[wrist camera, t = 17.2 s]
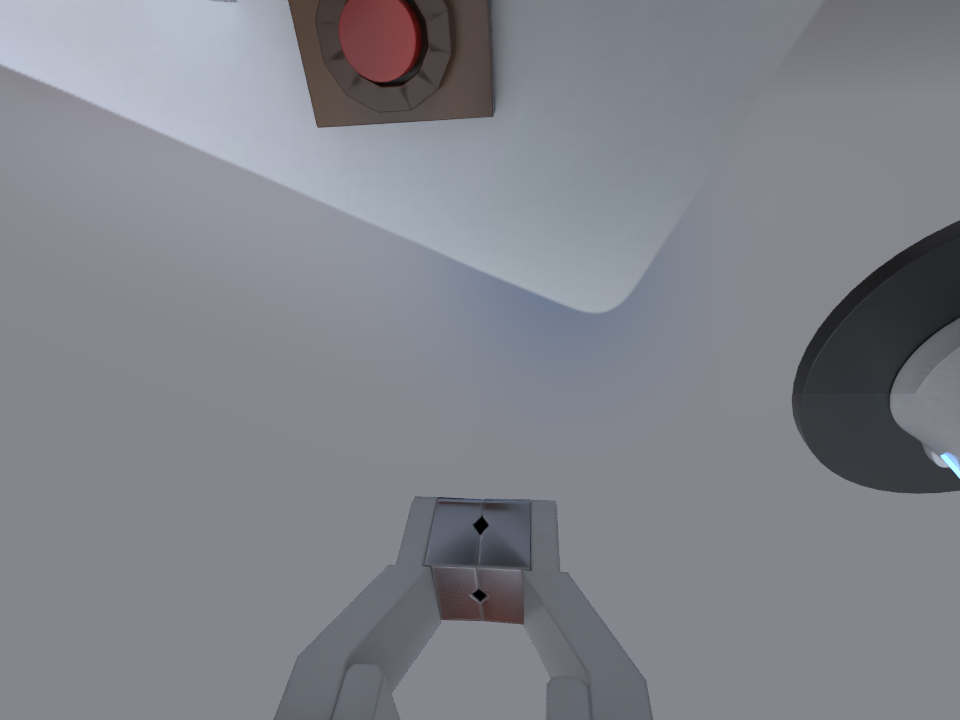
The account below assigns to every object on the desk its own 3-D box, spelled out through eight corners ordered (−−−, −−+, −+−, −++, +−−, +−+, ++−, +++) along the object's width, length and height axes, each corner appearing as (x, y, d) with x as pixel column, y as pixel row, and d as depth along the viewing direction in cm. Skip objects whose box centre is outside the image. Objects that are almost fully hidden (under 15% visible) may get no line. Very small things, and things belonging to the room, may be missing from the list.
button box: (487, -70, 24) (482, -85, 21) (495, 111, 29) (492, 122, 25) (292, -51, 25) (257, -62, 22) (329, 121, 29) (305, 133, 26)
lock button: (417, -13, 23) (410, -16, 21) (426, 76, 25) (421, 79, 23) (341, -6, 23) (329, -9, 22) (357, 81, 25) (347, 85, 24)
